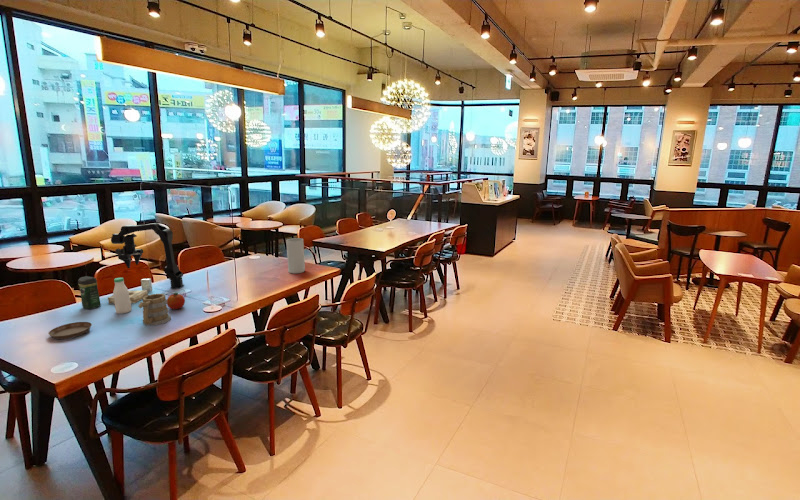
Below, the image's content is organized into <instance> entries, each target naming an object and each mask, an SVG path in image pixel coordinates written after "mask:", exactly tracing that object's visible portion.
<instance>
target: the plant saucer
mask: <svg viewBox="0 0 800 500" xmlns="http://www.w3.org/2000/svg"><path fill="white" fill-rule="evenodd" d="M92 325H93V323H91V321H90V322H89V321H75V322H71V323H65V324H62V325H60V326H56V327H54V328H52V329H51V330H49V331H48V336H49V337H51V338H53V339H55V340H68V339H74V338H77V337H80V336H82V335H85V334H86V333H88V331H89V330H90V329H91V328H92Z"/></svg>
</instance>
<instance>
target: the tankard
mask: <svg viewBox="0 0 800 500" xmlns="http://www.w3.org/2000/svg"><path fill="white" fill-rule="evenodd" d="M167 299H168V298H166V295H165V293H153V294H148V296H145V297H143V298H142V299H141V300H142V301H140V303H139V304H138V308H140V309H143V310H142V318H143V319H142V323H143V324H144V325H145V326H158V325H162V324H166V323H167V322H169V321H170V320H171V319H172V317H171V315H170V314H169V307H168V305H167V304H168V302H167Z"/></svg>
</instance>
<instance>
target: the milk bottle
mask: <svg viewBox="0 0 800 500" xmlns="http://www.w3.org/2000/svg"><path fill="white" fill-rule="evenodd" d="M113 282H114V289H113V292H112V295H113V297H114V303H113V304H114V308H115V309H114V310H115V313H116V314H120V315H121V314H126V313H129V312H131V311H132V303H131V302H130V296H129V291H130V290H129V289H128V287H127V286H126V284H125V279H124V277H116V278H114V279H113Z"/></svg>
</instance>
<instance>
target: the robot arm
mask: <svg viewBox="0 0 800 500" xmlns="http://www.w3.org/2000/svg"><path fill="white" fill-rule="evenodd" d="M150 230H151V231H153V232H154V233H155V234H156V235H157V236H158V237H159V239H160V241H161V242H162V244H163V248H164V254H165V259H166V266H164V268H163V269H164V274H166V276H167V277H168V279H169V281H170V289H181V288H182V287H184V286H185V284H184V283H183V277H184V273H183V272H182V271H181V270H180V268H179V265H178V264H177V263H176V261H175V254H174V248H173V243H172V241H173V238H174V235H173V234H174V233H173V230H171V229H170V228H167V227H166V226H164V225H161V224H160V223H158V222H154V223H146V224H138V225H137V224H136V225H135V224H126V225H123V226H121V228H120V231H119V233H113V234H111V237H110V242H111V244H112V245H123V244H124V245H123V246H122V248H119V247H118V248H116V249H115V254H116V255H118V256H117V258H118V260H120V261H123V262H124V265H125V266H126V267H127V269H131V262H132V257H134V262H135V265H136V266H137V265H139V263H140V260H141V258H142V255H143V254H144V249H143V248H136V247H137V244H135V238H136V237H138V235H137V234H135V233H136V232H141V231H142V232H143V231H144V232H145V231H150Z"/></svg>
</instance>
